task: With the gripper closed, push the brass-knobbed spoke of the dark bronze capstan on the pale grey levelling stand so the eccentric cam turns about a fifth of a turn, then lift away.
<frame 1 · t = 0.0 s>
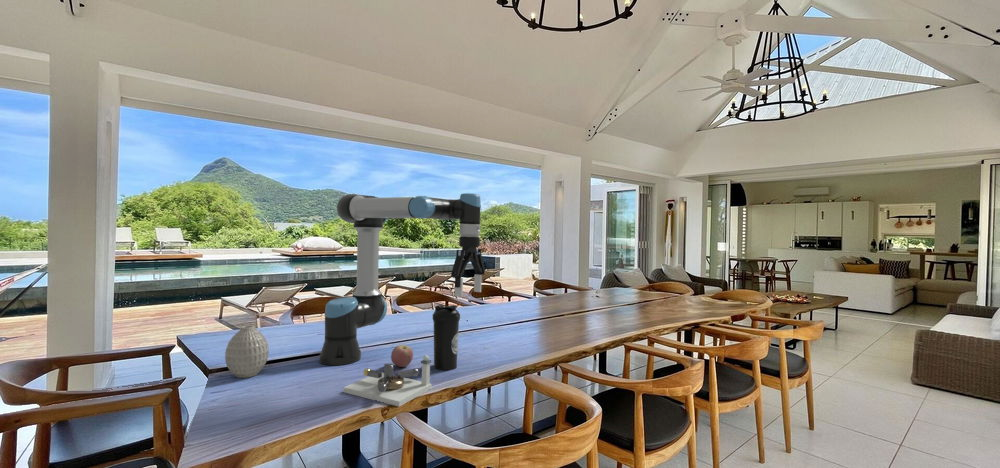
hand: (468, 294, 153), 28 cm above the table, fingers open, 13 cm apart
stand base: (388, 390, 133), on the table
capstan: (383, 373, 134), point 5 cm above the table, hinge at 0.0°
water bottle: (445, 367, 157), on the table
vase: (247, 375, 144), on the table
apple: (401, 367, 156), on the table
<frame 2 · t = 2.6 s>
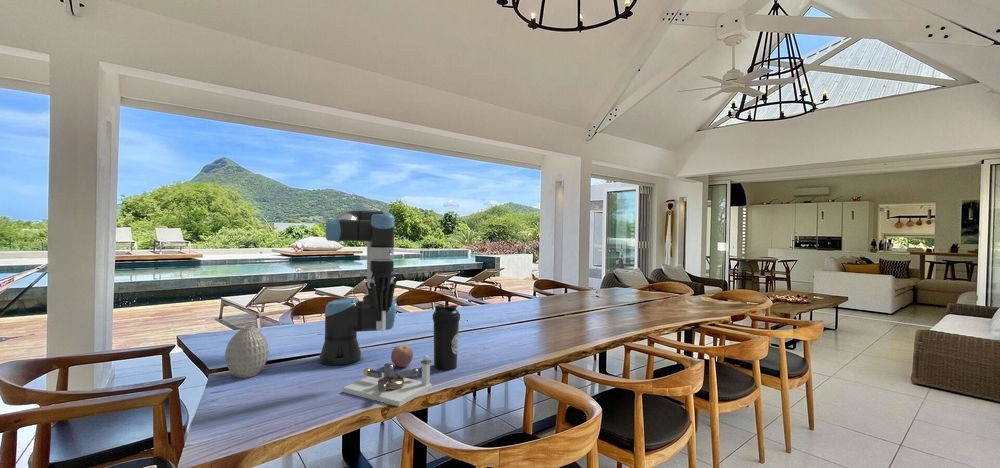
hand: (380, 330, 141), 17 cm above the table, fingers closed
nothing on the table moved.
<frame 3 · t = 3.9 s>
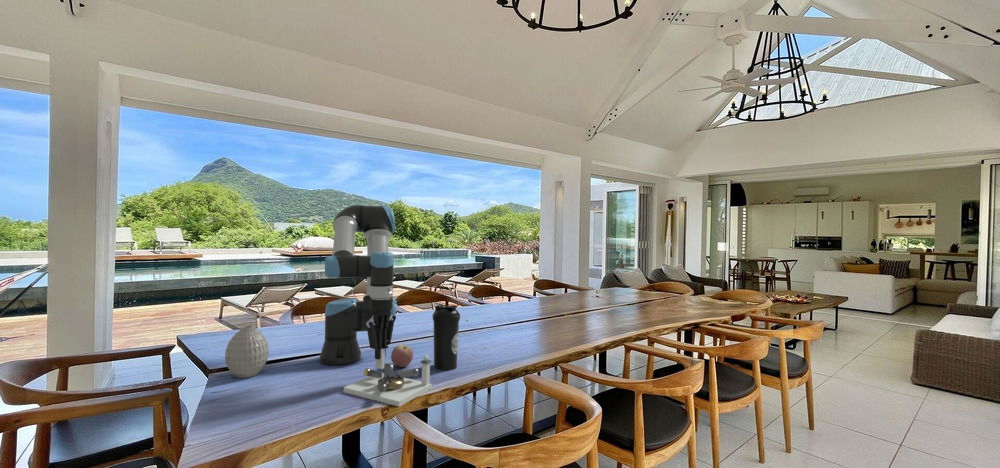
hand: (380, 367, 141), 4 cm above the table, fingers closed
nothing on the table moved.
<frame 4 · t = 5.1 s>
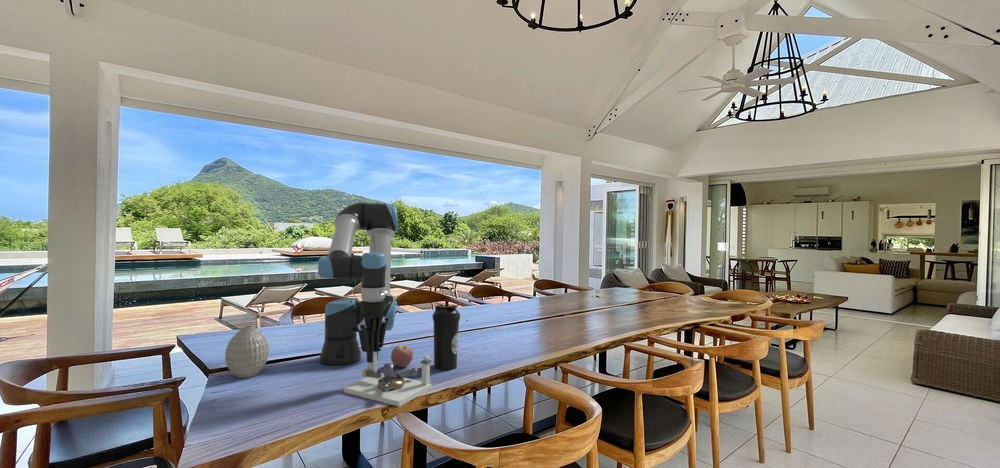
hand: (372, 371, 138), 4 cm above the table, fingers closed
capstan: (382, 373, 134), point 5 cm above the table, hinge at 4.5°, touching gripper
everything else where it was.
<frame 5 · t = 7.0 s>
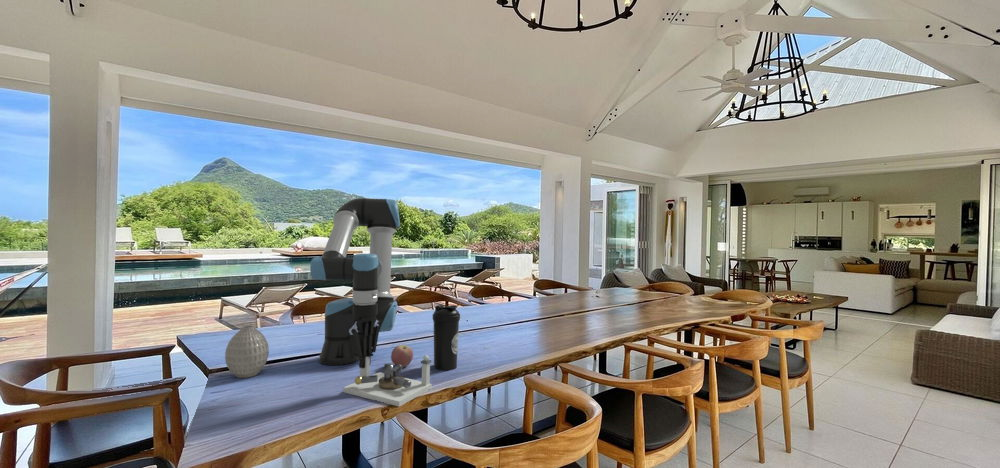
hand: (364, 376, 133), 4 cm above the table, fingers closed
capstan: (381, 375, 132), point 5 cm above the table, hinge at 48.8°, touching gripper
everything else where it was.
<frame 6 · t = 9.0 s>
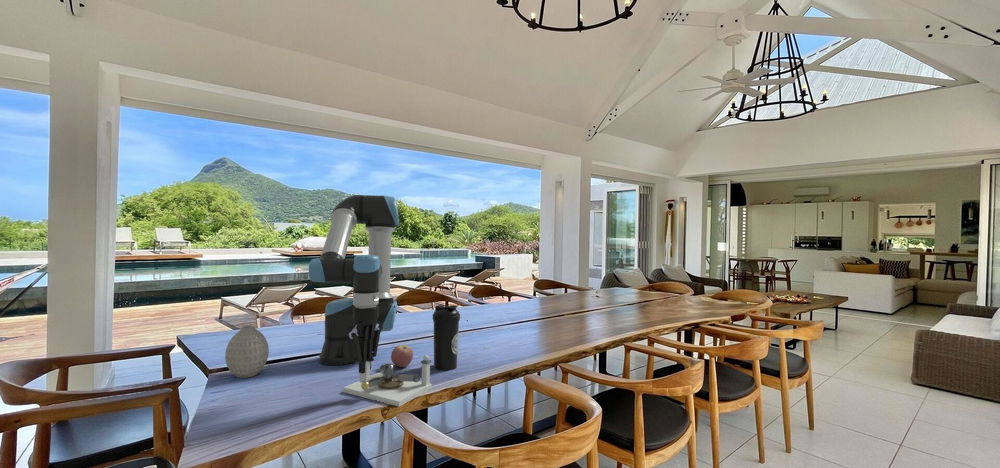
hand: (364, 382, 128), 4 cm above the table, fingers closed
capstan: (383, 376, 131), point 5 cm above the table, hinge at 82.5°, touching gripper
everything else where it was.
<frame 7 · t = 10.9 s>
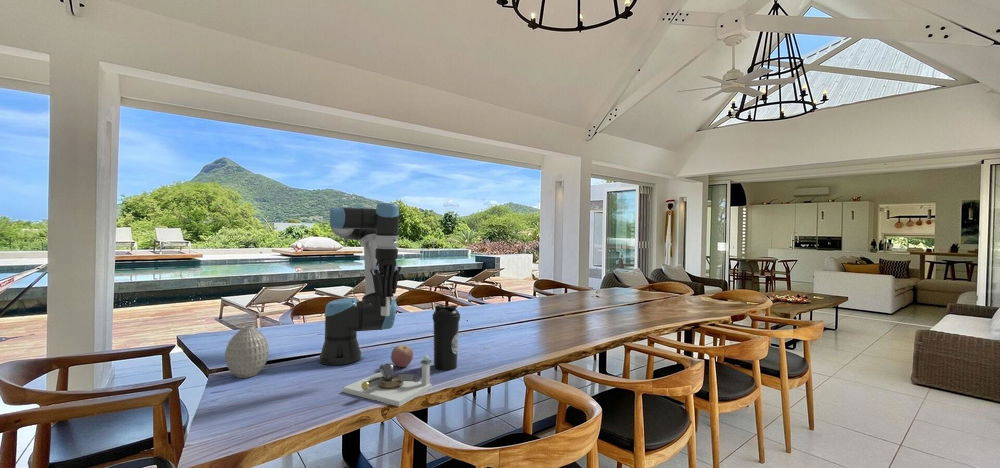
hand: (385, 315, 146), 21 cm above the table, fingers closed
capstan: (383, 376, 131), point 5 cm above the table, hinge at 83.2°
everything else where it was.
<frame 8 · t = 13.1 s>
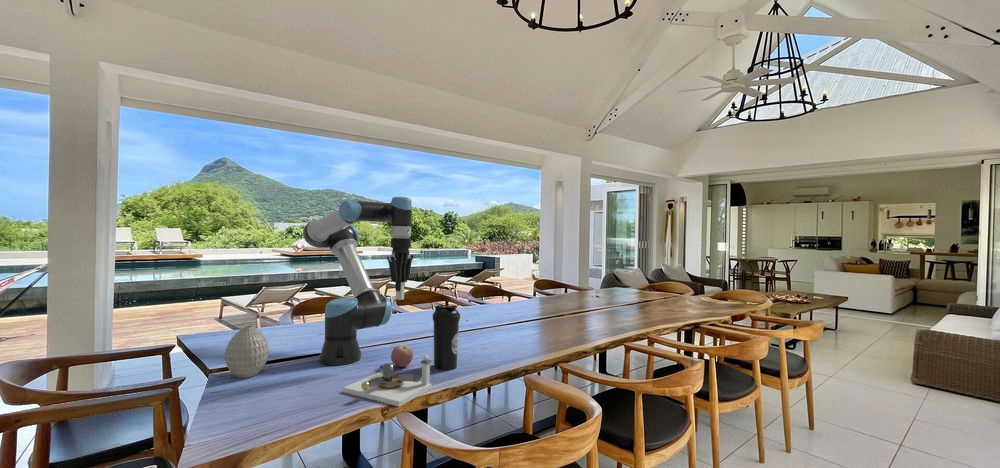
hand: (399, 299, 160), 24 cm above the table, fingers closed
nothing on the table moved.
at the end: capstan at +83° (first picture: +0°) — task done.
